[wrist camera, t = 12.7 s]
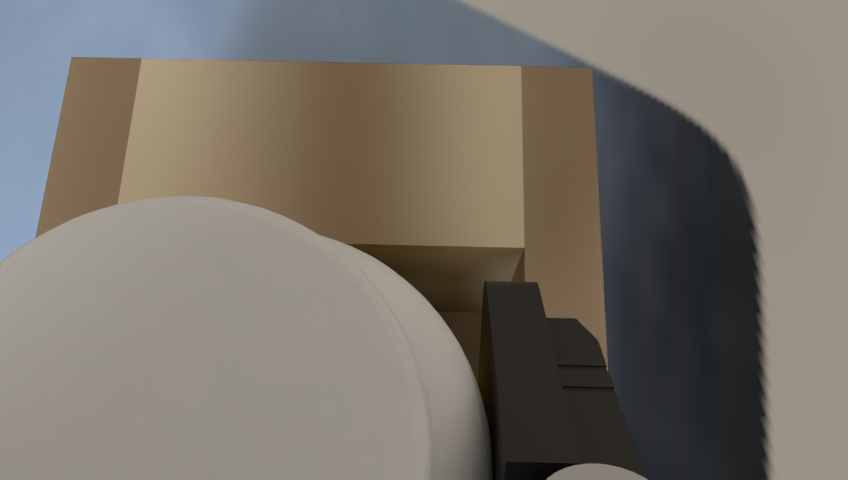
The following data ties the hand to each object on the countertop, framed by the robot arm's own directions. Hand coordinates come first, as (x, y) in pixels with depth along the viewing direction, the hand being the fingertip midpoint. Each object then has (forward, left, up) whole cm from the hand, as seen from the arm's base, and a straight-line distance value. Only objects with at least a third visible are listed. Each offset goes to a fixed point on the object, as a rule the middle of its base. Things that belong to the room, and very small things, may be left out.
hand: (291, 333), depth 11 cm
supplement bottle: (0, -2, -5) cm, 5 cm away
